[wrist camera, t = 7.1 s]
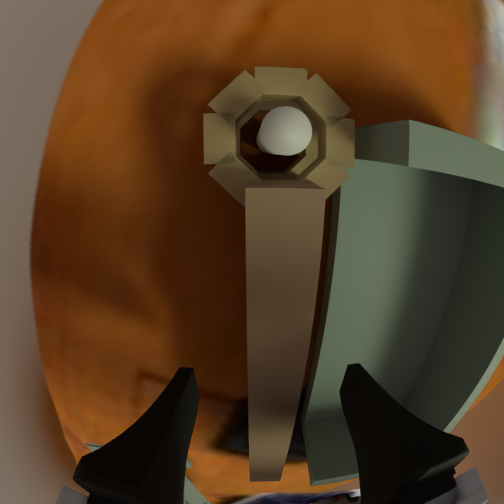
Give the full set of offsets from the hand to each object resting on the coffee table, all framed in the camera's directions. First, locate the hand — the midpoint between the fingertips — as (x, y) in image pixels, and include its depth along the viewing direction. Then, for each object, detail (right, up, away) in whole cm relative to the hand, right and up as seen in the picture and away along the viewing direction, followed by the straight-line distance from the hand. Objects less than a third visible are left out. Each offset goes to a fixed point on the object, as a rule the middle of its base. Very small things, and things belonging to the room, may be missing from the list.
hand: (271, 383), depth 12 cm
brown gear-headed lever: (0, +3, +3) cm, 4 cm away
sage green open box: (+6, +2, +3) cm, 7 cm away
